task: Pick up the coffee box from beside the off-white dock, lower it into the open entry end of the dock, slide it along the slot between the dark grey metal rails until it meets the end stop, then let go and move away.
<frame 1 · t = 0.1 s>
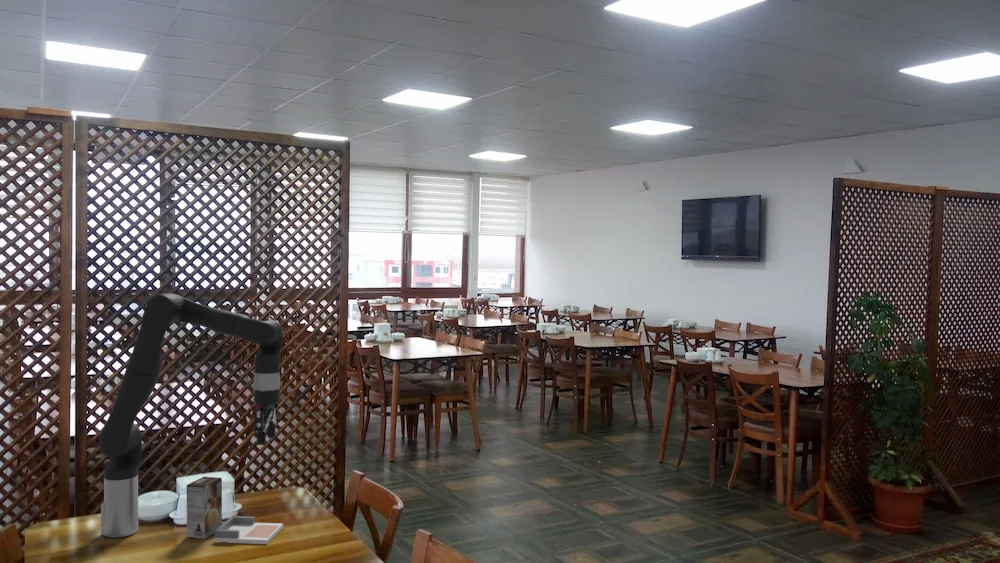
hand: (266, 441, 226), 29 cm above the table, tool pointing down, fingers open, 8 cm apart
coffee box: (204, 533, 230), on the table
slide dock: (249, 534, 229), on the table
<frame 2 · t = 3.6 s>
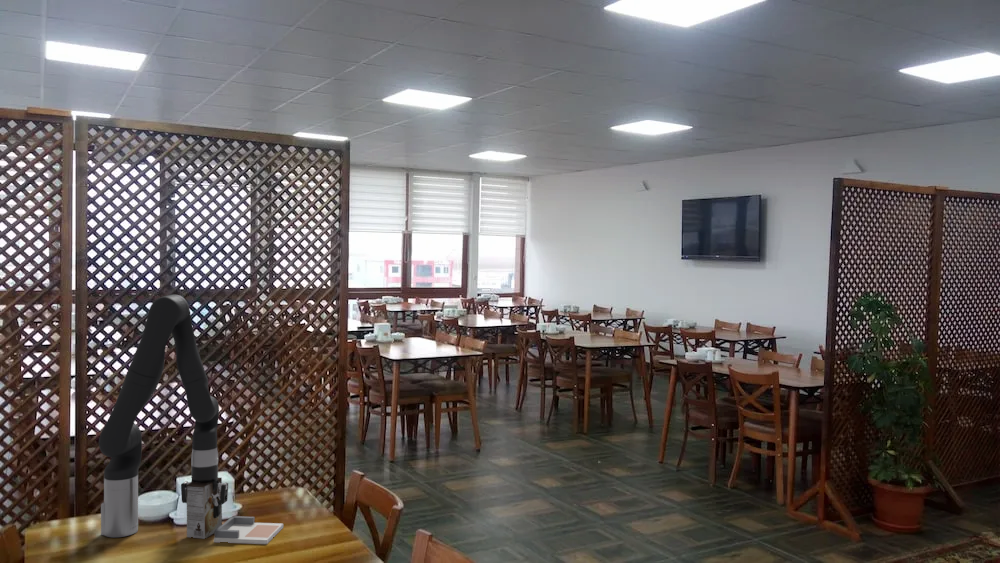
hand: (204, 516, 229), 5 cm above the table, tool pointing down, fingers closed on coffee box, 7 cm apart
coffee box: (204, 533, 230), on the table, touching gripper
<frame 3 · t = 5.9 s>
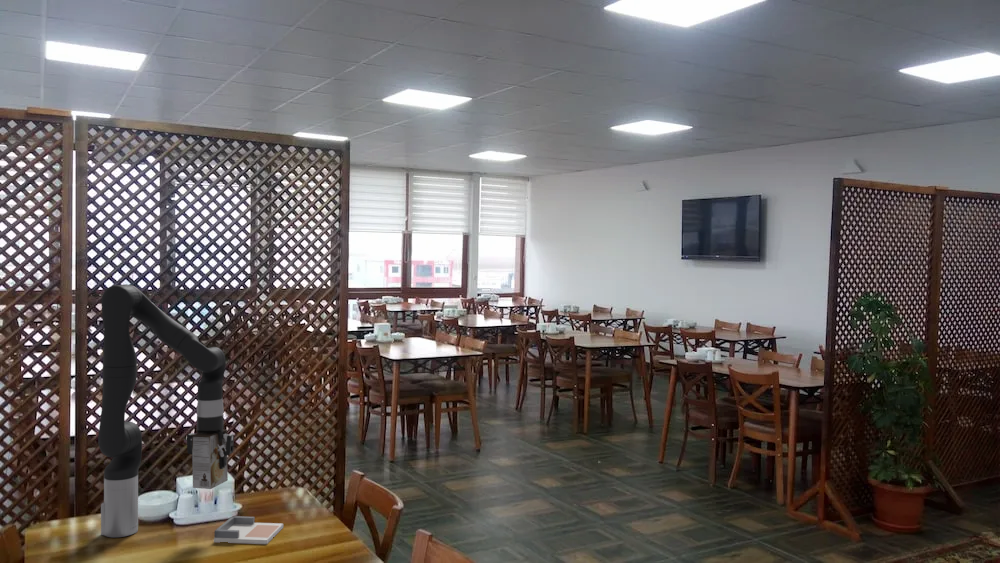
hand: (210, 468, 229), 20 cm above the table, tool pointing down, fingers closed on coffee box, 7 cm apart
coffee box: (210, 485, 229), point 15 cm above the table, touching gripper
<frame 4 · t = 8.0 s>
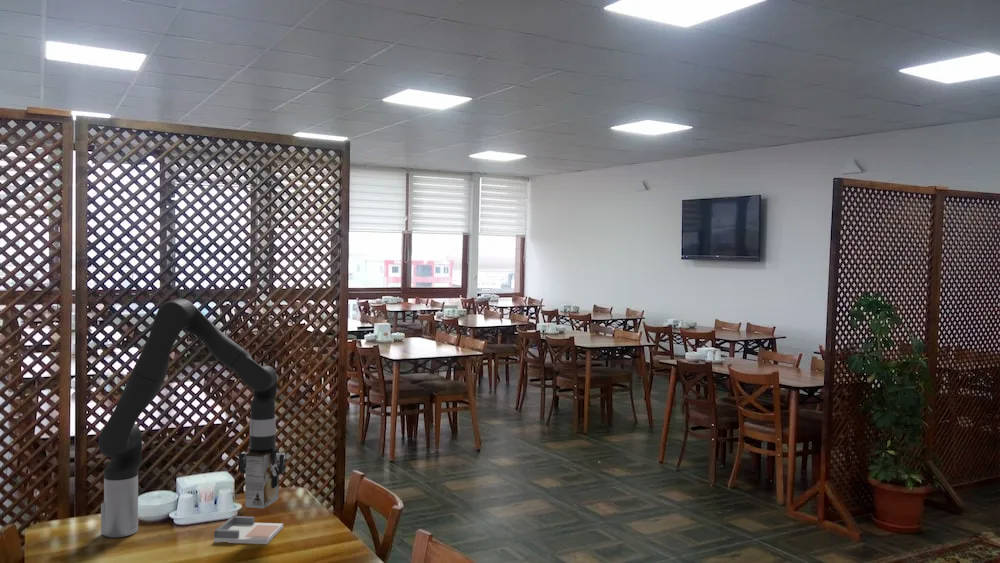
hand: (262, 487, 228), 15 cm above the table, tool pointing down, fingers closed on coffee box, 7 cm apart
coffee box: (262, 504, 228), point 9 cm above the table, touching gripper
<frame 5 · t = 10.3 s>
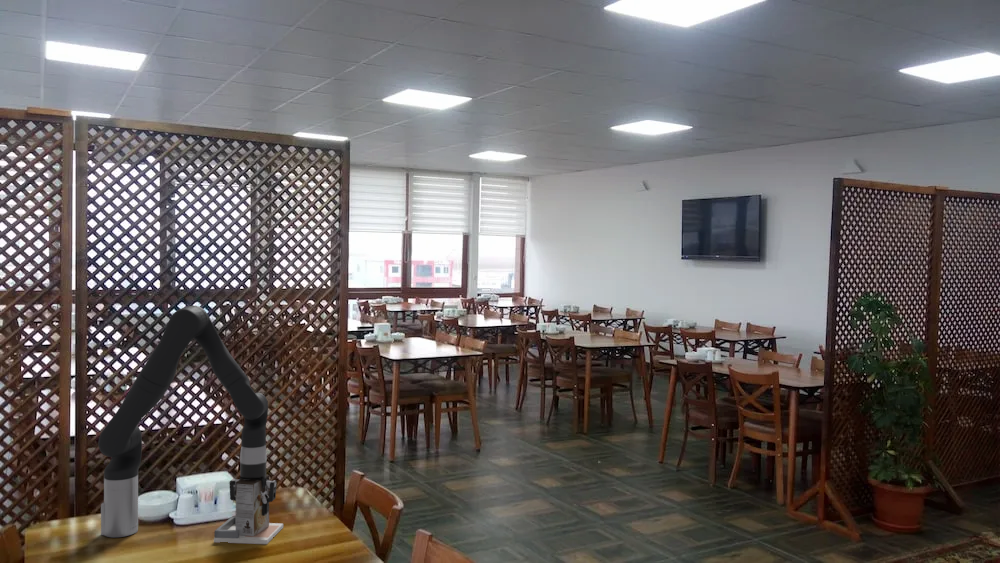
hand: (252, 514, 229), 6 cm above the table, tool pointing down, fingers closed on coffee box, 7 cm apart
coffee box: (252, 531, 229), point 1 cm above the table, touching gripper, slide dock
when the fingers open (7 cm above the table, at t = 12.6 s): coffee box stays where it is, resting on slide dock.
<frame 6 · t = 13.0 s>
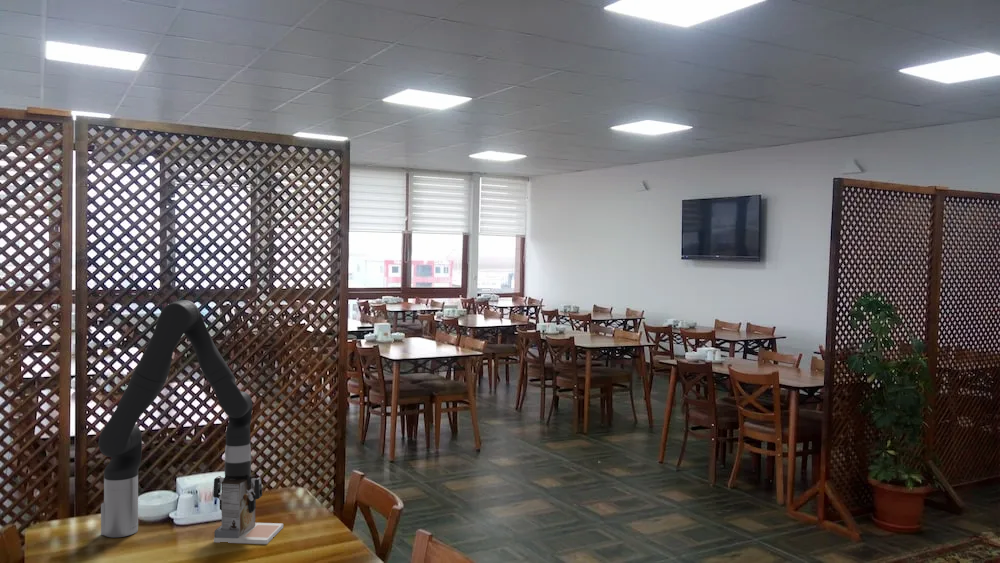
hand: (237, 511, 229), 7 cm above the table, tool pointing down, fingers open, 8 cm apart
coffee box: (238, 530, 229), point 1 cm above the table, touching slide dock
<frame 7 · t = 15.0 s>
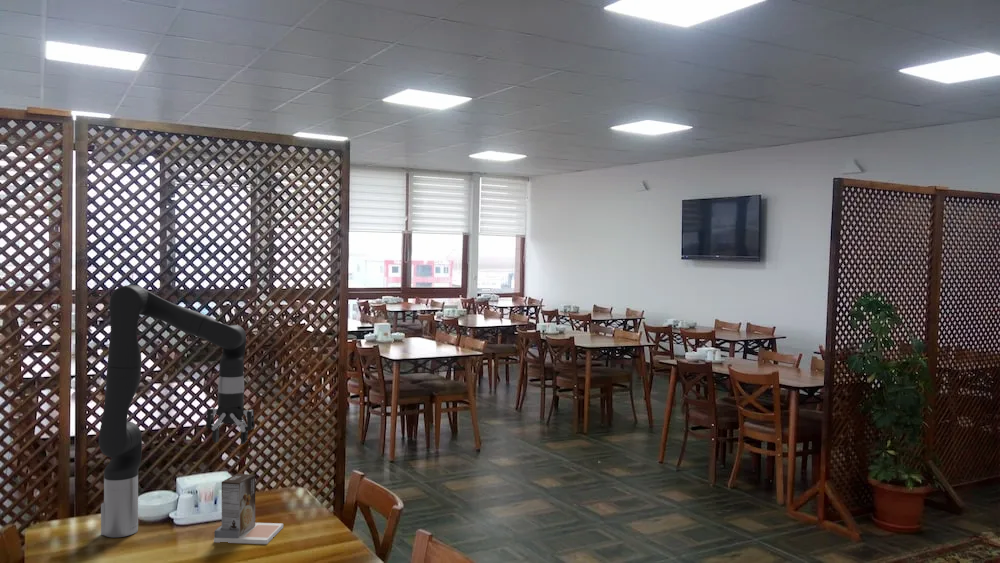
hand: (229, 442, 232), 27 cm above the table, tool pointing down, fingers open, 8 cm apart
nothing on the table moved.
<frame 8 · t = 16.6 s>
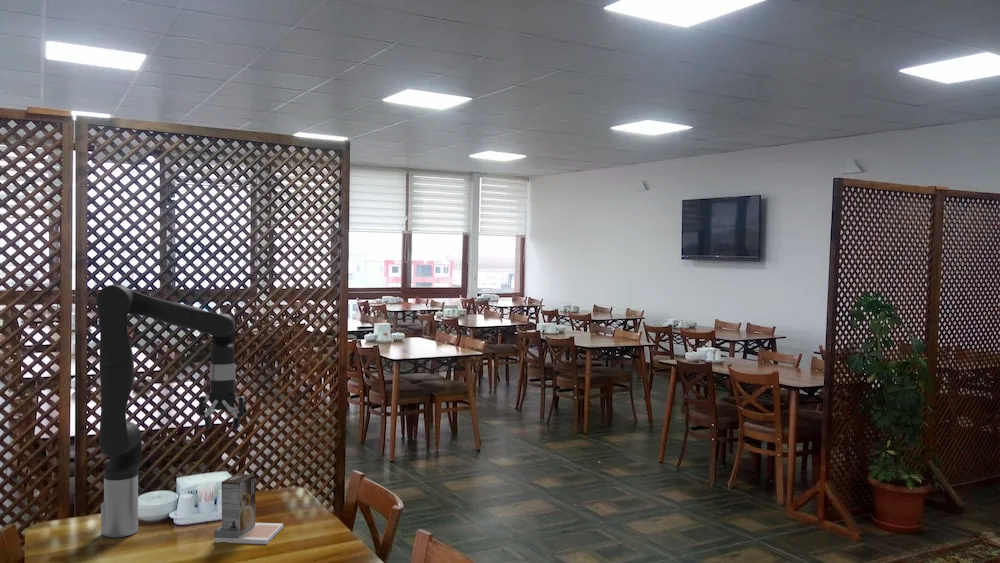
hand: (222, 429, 237), 30 cm above the table, tool pointing down, fingers open, 8 cm apart
nothing on the table moved.
at the end: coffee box 0.4 cm from the target spot, point 1.0 cm above the table; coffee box tilted 0°; the gripper is holding nothing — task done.
